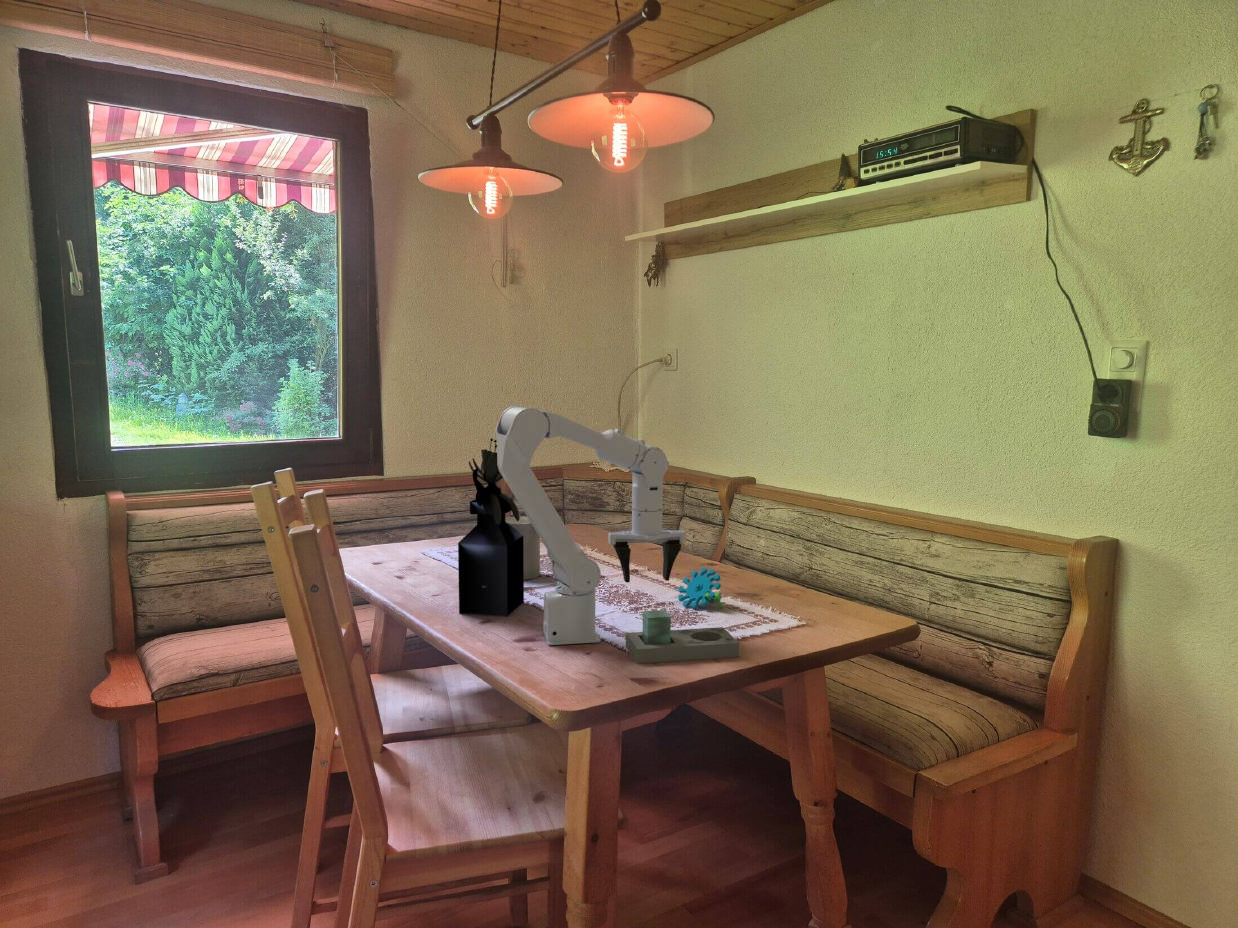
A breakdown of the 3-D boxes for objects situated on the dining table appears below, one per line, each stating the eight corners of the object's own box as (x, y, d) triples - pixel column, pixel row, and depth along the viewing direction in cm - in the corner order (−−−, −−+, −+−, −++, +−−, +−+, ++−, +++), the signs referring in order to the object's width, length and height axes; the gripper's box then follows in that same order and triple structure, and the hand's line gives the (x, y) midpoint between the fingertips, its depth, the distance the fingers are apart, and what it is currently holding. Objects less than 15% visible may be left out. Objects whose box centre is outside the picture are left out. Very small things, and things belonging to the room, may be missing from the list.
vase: (508, 621, 161) (507, 443, 158) (453, 617, 164) (450, 441, 160) (530, 602, 175) (530, 437, 172) (479, 598, 178) (477, 436, 174)
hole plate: (636, 663, 138) (637, 649, 138) (625, 646, 147) (625, 632, 147) (739, 656, 142) (739, 642, 142) (722, 640, 151) (722, 627, 150)
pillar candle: (493, 574, 200) (492, 513, 198) (529, 569, 205) (528, 509, 203) (510, 582, 192) (510, 519, 190) (547, 577, 197) (547, 515, 195)
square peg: (647, 657, 141) (647, 617, 141) (642, 650, 145) (642, 611, 145) (670, 656, 142) (670, 616, 141) (664, 648, 146) (664, 610, 145)
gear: (667, 594, 176) (697, 559, 178) (681, 610, 179) (710, 575, 181) (699, 614, 167) (730, 576, 169) (713, 629, 170) (743, 593, 172)
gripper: (613, 513, 150) (613, 587, 151) (690, 511, 153) (689, 583, 154) (606, 507, 157) (605, 577, 158) (680, 505, 160) (679, 574, 161)
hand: (646, 580), depth 157 cm, fingers open, 7 cm apart
